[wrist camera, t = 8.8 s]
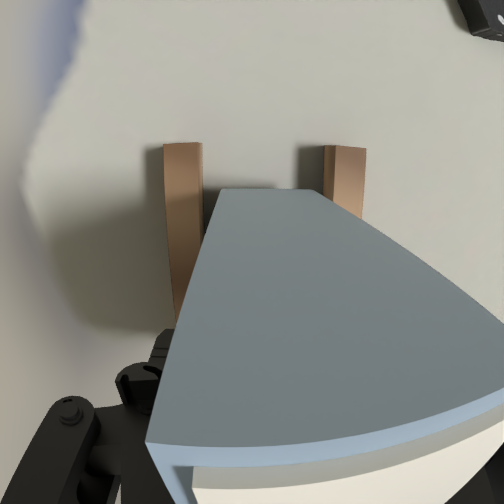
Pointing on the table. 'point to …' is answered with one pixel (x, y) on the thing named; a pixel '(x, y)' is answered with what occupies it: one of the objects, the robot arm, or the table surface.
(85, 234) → the table surface
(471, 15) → the disk drive
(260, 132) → the table surface
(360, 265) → the book
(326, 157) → the book slot
